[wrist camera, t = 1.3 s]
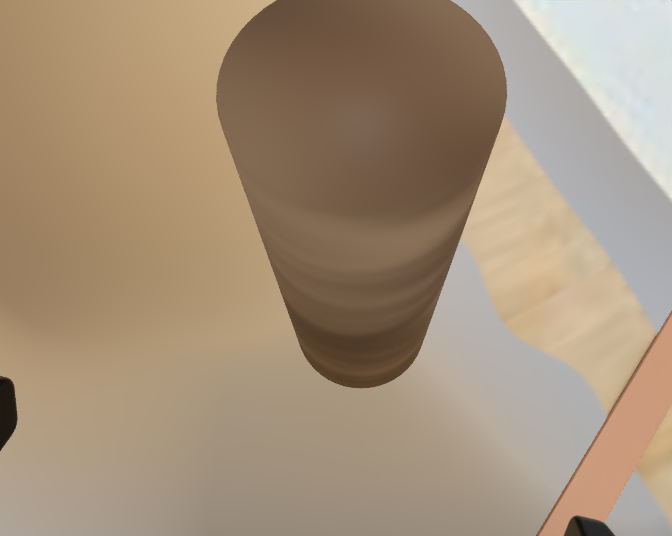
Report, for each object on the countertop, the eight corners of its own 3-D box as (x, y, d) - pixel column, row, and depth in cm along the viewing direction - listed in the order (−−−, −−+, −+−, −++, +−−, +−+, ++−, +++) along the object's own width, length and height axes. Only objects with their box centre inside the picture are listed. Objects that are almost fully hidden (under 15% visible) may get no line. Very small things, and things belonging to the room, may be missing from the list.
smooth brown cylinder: (373, 415, 22) (391, 269, 9) (271, 335, 23) (156, 107, 10) (449, 313, 23) (561, 57, 10) (348, 243, 24) (335, -60, 11)
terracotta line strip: (426, 828, 17) (426, 833, 17) (384, 787, 17) (384, 791, 17) (722, 309, 23) (726, 306, 22) (685, 287, 23) (690, 284, 23)
